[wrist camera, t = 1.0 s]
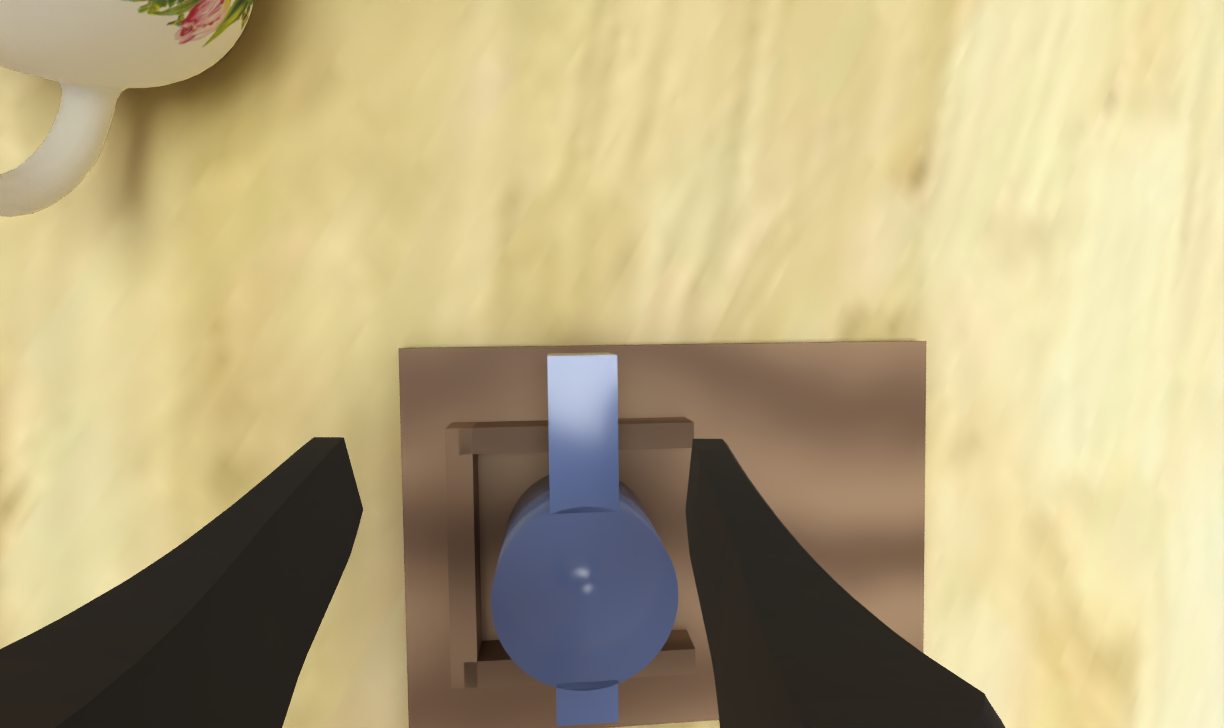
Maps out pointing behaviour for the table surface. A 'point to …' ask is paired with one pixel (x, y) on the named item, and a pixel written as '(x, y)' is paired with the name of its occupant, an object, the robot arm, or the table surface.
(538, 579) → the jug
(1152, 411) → the table surface
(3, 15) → the pitcher
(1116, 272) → the table surface
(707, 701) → the stand
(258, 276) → the table surface
